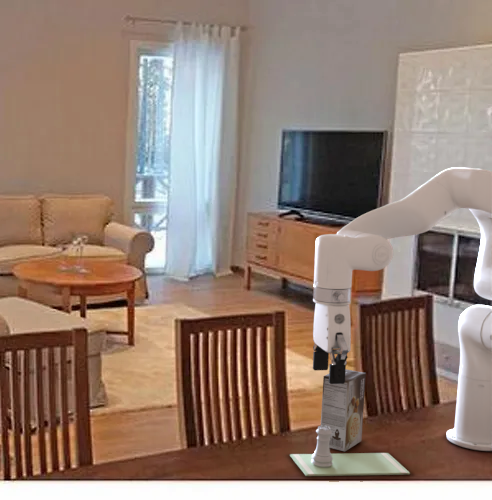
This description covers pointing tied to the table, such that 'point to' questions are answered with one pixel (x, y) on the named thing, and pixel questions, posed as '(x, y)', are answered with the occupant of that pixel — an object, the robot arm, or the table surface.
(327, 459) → the rook chess piece
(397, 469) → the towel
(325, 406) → the coffee box
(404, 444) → the table surface
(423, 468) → the table surface
